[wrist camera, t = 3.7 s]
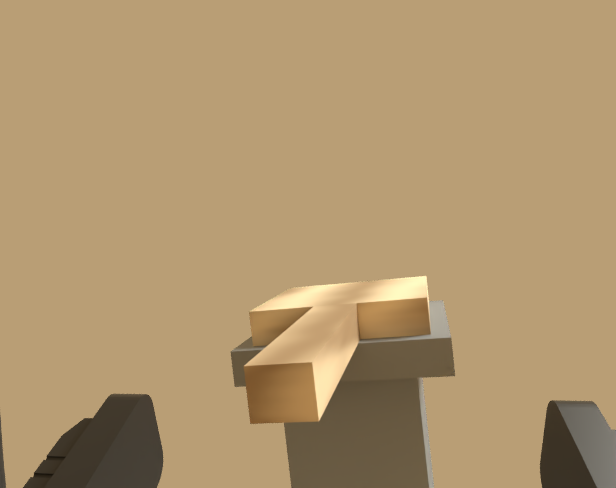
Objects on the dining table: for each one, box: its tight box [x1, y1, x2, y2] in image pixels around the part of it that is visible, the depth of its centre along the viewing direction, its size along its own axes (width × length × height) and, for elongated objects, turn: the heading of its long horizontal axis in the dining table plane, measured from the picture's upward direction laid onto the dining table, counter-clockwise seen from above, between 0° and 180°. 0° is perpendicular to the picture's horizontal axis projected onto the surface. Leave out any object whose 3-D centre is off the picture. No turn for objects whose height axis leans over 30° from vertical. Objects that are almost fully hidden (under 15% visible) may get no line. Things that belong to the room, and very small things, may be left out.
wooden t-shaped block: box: [244, 276, 431, 424], centre depth 29 cm, size 10×22×2 cm, turn 168°
